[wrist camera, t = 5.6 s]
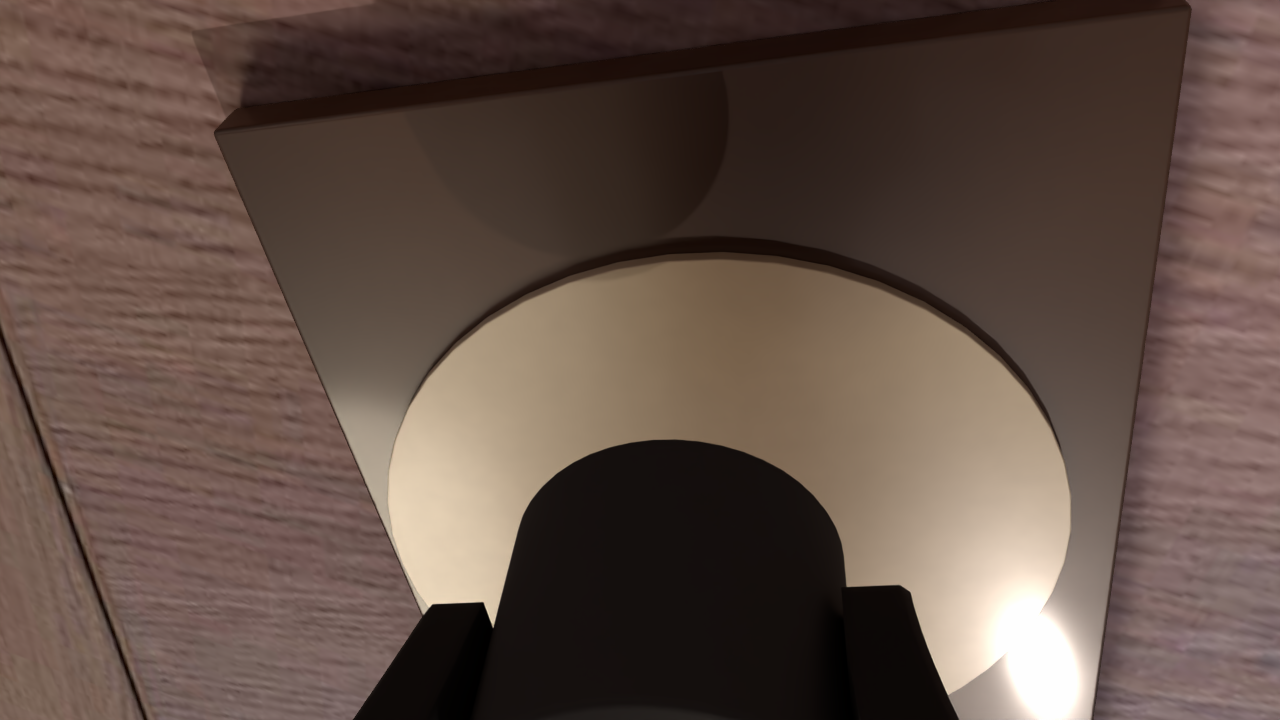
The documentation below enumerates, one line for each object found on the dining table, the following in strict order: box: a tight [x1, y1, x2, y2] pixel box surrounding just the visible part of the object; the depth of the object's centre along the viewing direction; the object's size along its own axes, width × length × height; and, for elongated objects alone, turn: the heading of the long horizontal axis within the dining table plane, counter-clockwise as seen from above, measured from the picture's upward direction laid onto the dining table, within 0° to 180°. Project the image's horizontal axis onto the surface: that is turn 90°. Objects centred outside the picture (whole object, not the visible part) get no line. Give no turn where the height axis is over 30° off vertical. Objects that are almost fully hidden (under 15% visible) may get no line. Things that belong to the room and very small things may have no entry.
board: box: [214, 0, 1192, 720], centre depth 18 cm, size 12×16×1 cm
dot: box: [470, 439, 853, 720], centre depth 12 cm, size 4×4×4 cm
